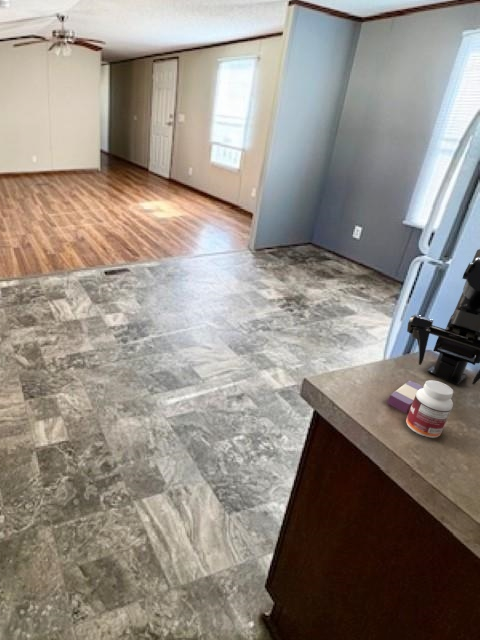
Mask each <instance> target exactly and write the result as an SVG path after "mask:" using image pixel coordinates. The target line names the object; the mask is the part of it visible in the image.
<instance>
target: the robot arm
mask: <svg viewBox="0 0 480 640" xmlns="http://www.w3.org/2000/svg"><path fill="white" fill-rule="evenodd" d="M461 279H462V280H465V283H464V285H463V289H462V292H461V295H460V297H459V300H458V302H457V303H456V306H455V308H454V311H453V312H452V314H451V316H450V318H449V321H448V322H447V324H446V327H445V328H443V327H440V326H436V325H433V323H434V319H432V318H429V317H425V316H421V315H418V314H413V315H411V317H410V318H409V320H408V322H407V328H406V331H407V333H409V334H411V335H412V336H411V337H412V338H413V339H416V342H417V347H418V365H420V366H421V365H422V364H423V362H424V358H425V354H426V350H427V347H428V342H429V338H430V335H433V336H436V337H437V339H436V342H435V345H434V347H433V350H432V351H433V352H437V353H438V356H437V358H436V360H435V364H434V365H432V366H431V367H430V368H428V369H427V373H429V374H431V375H433V376H435V377H438V378H440V379H441V380H444V381H447V382H449V383H451V384H453V385H456V386H457V385H459V384H460V383H461V382H462V381H464V380H465V379H466V378H467V374H466V373H465V370H466V368H467V366H468V364H472V365H473V366H475V365H476V364H480V248H479V249H477V250H476V251H475V254H474V256H473V259H472V261H471V262H469V263H468V264H467V267H466V269H465V270H464V272H463V275H462V278H461ZM479 381H480V369H479V370H478V371H477V373H476V374H475V376H474V378H473V380H472V383H471V385H473V386H475V385H476V384H477V383H478V382H479Z"/></svg>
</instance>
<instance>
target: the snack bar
mask: <svg viewBox="0 0 480 640" xmlns="http://www.w3.org/2000/svg"><path fill="white" fill-rule="evenodd" d="M422 388H424V385H421V384H420V383H417V382H414V381H413V380H408V381H407V382H406V383H404V384H402V385H401V386H400V387H399V388H398V389H396V390H395V391H394V392H392V393H391V394H389V397H388V400H387V403H386V404H387V405H389V406H390V407H393V408H395V409H396V410H398V411H400V412H402V413H404V414H407V413H409V411H410V409H411V406H412V403H413V401H414V398H415V395H416V393H417V391H418V390H419V389H422Z"/></svg>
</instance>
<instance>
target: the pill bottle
mask: <svg viewBox="0 0 480 640" xmlns="http://www.w3.org/2000/svg"><path fill="white" fill-rule="evenodd" d="M423 387H424V388H422V389H419V390H418V391H417V393H416V395H415V398H414V401H413V403H412V406H411V409H410V411H409V412H408V414H407V416H406V419H405V422H406V425H407V427H408V428H409V429H410V430H411V431H413V432H415V433H416V434H417V435H420V436H422V437H426V438H431V439H435V438H438V437H440V436H441V434H442V432H443V430H444V428H445V426H446V423H447V421H448V419H449V417H450V414H451V412H452V409H453V408H454V407H453V406H454V402H453V400H452V398H453V395H454V389H453V388H452V387H451V386H449V385H448V384H445V383H444V382H441V381H438V380H435V379H434V380H432V379H428V380H426V381H425V383H424V385H423Z"/></svg>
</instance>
